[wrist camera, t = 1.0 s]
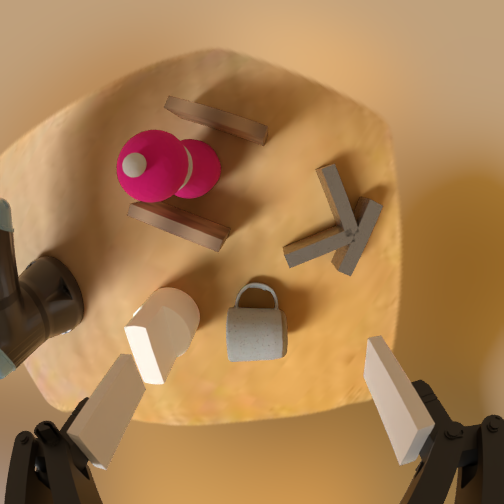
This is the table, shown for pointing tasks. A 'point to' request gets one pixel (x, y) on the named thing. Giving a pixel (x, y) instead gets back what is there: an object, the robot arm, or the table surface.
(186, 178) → the pepper mill
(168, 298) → the base with upright slab
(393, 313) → the table surface
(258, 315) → the ceramic mug
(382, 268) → the table surface
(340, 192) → the letter k block
